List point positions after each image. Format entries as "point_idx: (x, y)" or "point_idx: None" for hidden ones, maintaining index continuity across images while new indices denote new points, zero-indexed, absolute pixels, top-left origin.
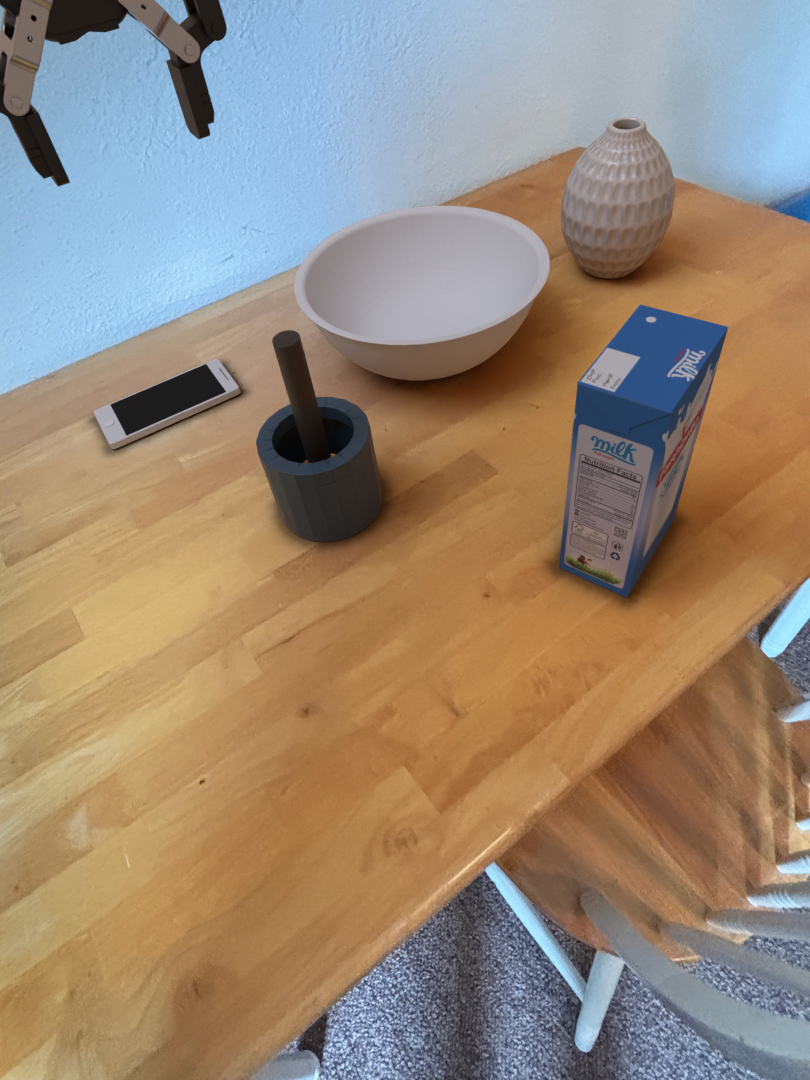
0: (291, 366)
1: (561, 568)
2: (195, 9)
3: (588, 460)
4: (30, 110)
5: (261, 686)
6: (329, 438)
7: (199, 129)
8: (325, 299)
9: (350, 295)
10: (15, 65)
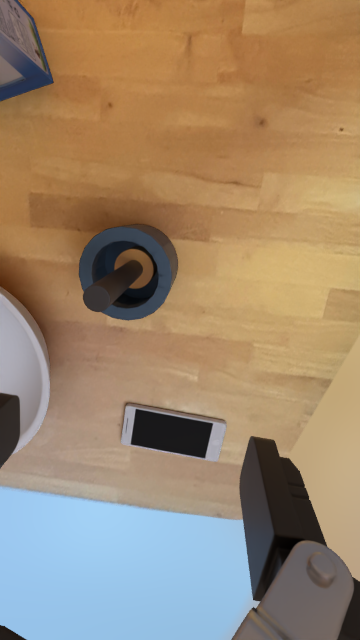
0: (109, 282)
1: (52, 80)
2: None
3: None
4: (283, 552)
5: (271, 163)
6: None
7: (6, 398)
8: (23, 416)
9: None
10: None
